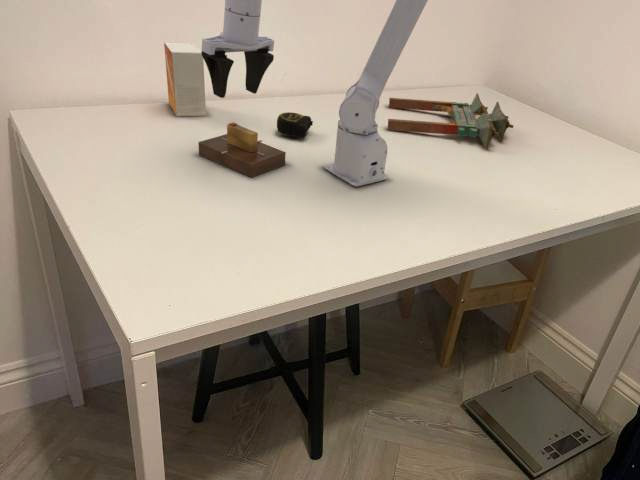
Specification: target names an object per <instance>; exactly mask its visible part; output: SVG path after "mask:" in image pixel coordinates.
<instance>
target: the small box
mask: <svg viewBox="0 0 640 480" xmlns="http://www.w3.org/2000/svg"><path fill="white" fill-rule="evenodd" d="M163 46H164V58H165V73H166V84H167V97H168V98H167V99H168V105H169V106H170V108H171V109H172V110H173V113H174V114H175V116H176V117H201V116H202V117H203V116H204V117H205V116H207V109H206V108H207V105H206V86H205V70H204V69H205V68H204V63H205V62H204V58H203V56H202V49H201V48H199V47H198V46H197V45H196V44H195V42H172V41H169V42H167V41H166V42H163Z"/></svg>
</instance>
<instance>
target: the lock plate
mask: <svg viewBox="0 0 640 480" xmlns="http://www.w3.org/2000/svg"><path fill="white" fill-rule="evenodd" d="M286 153H287V152H286V151H283V150H281V149H279V148H277V147H274V146H271V145H269V144H266V143H263V140H262V139H259V140H258V151H255V152H252V153H251V152H249V151H246V150H244V149H241V148H239V147H236V146H234V145H231V144H229V143H227V133H225V134H222V135H219V136H215V137H212V138H208V139H205V140H201V141H198V156H200V157H203V158H205V159H207V160H209V161H212V162H215V163H217V164H219V165H221V166H223V167H226V168H229V169H231V170H233V171H234V172H238V173H240V174H243V175H245V176H247V177H249V178H254V177H257V176H259V175H261V174H264V173H265V174H266V173H267V172H269V171H272V170H275V169H278V168H281V167H282V166H285V165H286V157H287V155H286Z"/></svg>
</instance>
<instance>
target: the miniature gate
mask: <svg viewBox="0 0 640 480" xmlns="http://www.w3.org/2000/svg"><path fill="white" fill-rule="evenodd" d="M388 108H389V109H397V110H398V109H400V110H414V111H426V112H427V111H428V112H441V113H447V115H448V116H451V117H452V119H450V122H440V121H439V122H436V121H424V120H412V119H411V120H409V119H396V118H388V119H387V131H394V132H406V133H407V132H409V133H422V134H437V135H448V136H449V135H450V136H451V135H452V136H458V137H472V138H477V136H478V137H479V139H480V141H481V143H482V144H483V147H484V148H485V150H486V151H489V147H490V144H491V141H492V139H493V137H494V136H496V137H498V138H499V140H500V142H504V140H503V139H504V136H505V134H506V132H507V129H508V128H511V129H513V128H514V124H511V123H510V120H509V115H506V114H504V112H503V111H502V109H501V106H500V102H499V101H496V103H495V105H494V107H493V110H492V111H491V113H489V112H488V108H489V107H488V106H485V105H484V104H483V102H482V101H481V99H480V95H479V93H477V92H476V94H475V96H474V98H473V99H472V102H471V104H469V103H468V102H457V101H441V100H428V99H427V100H426V99H414V98H413V99H412V98H402V97H401V98H398V97H389V102H388Z"/></svg>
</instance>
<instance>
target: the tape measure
mask: <svg viewBox="0 0 640 480" xmlns="http://www.w3.org/2000/svg"><path fill="white" fill-rule="evenodd" d="M313 123H314V120H312V118H311V116H309V115H303V114H300V113H297V112H292V111H291V112H290V111H289V112H282V113H280V114H279V115H278V117H277V119H276V129H277V131H278V133H280V134H282V135H284V136H288V137H299V138H304V137H305V136H306V134H307V132H308V131H309V130H310V128H311V127H312V126H313Z"/></svg>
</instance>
